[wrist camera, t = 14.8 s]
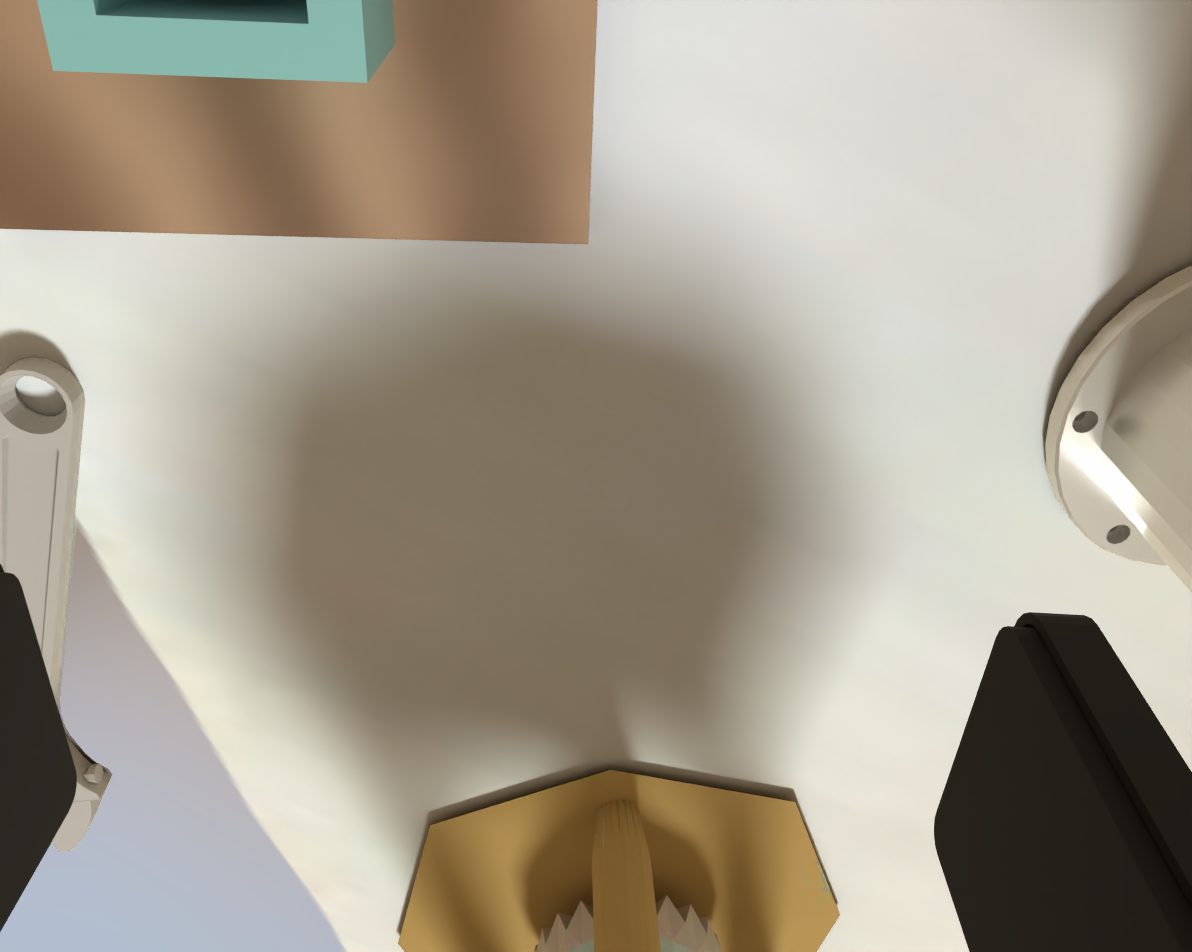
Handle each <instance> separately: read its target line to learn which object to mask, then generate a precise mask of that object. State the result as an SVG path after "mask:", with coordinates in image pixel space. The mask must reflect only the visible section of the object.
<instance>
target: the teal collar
mask: <svg viewBox="0 0 1192 952" xmlns="http://www.w3.org/2000/svg"><path fill="white" fill-rule="evenodd" d="M37 3H38V7H39V11H40V16H41V20H42V24H43V29H44V33H45V38H46V42H47V46H48V51H49V55H50V59H51V64H52V68H53V71H69V72H95V73H122V74H148V75H175V76H201V77H227V78H254V79H280V80H306V81H333V82H359V83H368V81H369V80H370V79H371V77H372V76H373V74H374V73H375V72H376V70H377V69H378V68H379V66H380V65H381V63H382V62H383V61H384V59H385V58H386V56H387V55H388V54H389V52H390V51H391V49H392V48H393V47H394V45H395V31H394V14H393V0H37Z"/></svg>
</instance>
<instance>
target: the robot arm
mask: <svg viewBox="0 0 1192 952" xmlns="http://www.w3.org/2000/svg"><path fill="white" fill-rule="evenodd" d="M1045 451H1046V466H1047V474H1048V477H1049V480H1050V483H1051V486H1052V489H1053V492H1054V495H1055V497H1056V498H1057V500H1058V501H1059V503H1060V504H1061V506H1062V507H1063V509H1064V510H1065V512H1066V513H1067V515H1068V516H1069V518H1070V519H1071V520H1072V521H1073V522H1074V523H1075V525H1076V526H1077V527H1078V528H1079V529H1080V530H1081V532H1082V533H1083V534H1084V535H1085V536H1086V537H1087V538H1089V539H1090V540H1091V541H1093V542H1094V543H1095V544H1097V545H1098V546H1099V547H1101V548H1103V549H1104V550H1106V551H1108V552H1111V553H1114V554H1116V555H1119V556H1121V557H1124V558H1126V559H1129V560H1132V561H1137V562H1143V563H1148V564H1154V565H1164V566H1169V567H1170V569H1171V570H1172V571H1173V572H1174V573H1175V574H1176V576H1177V577H1178V578H1179V579H1180V580H1181V582H1182V583H1183V584H1184V585H1185V586H1186V587H1187V589H1188V590H1189V591H1190V592H1191V593H1192V265H1191V266H1189V267H1187V268H1185V269H1183V270H1181V271H1179V272H1177V273H1175V274H1173V275H1171V276H1169V277H1167V278H1165V279H1163V280H1162V281H1161V282H1159V283H1158V284H1156V285H1155V286H1153V287H1152V288H1150V289H1149V290H1147V291H1146V292H1144V293H1143V294H1141V295H1140V296H1138V297H1137V298H1136V299H1134V300H1133V301H1131V302H1130V303H1129V304H1128V305H1127V306H1126V307H1125V308H1124V309H1122V310H1121V311H1120V312H1119V313H1118V314H1117V315H1116V316H1115V317H1114V318H1113V319H1111V320H1110V321H1109V322H1108V323H1107V324H1106V325H1105V326H1104V327H1103V328H1102V329H1101V330H1100V331H1099V333H1098V334H1097V335H1096V336H1095V337H1094V339H1093V340H1092V341H1091V342H1090V343H1089V345H1088V346H1087V347H1086V348H1085V349H1084V351H1083V352H1082V353H1081V354H1080V356H1079V357H1078V359H1077V360H1076V362H1075V364H1074V365H1073V367H1072V369H1071V370H1070V372H1069V374H1068V376H1067V377H1066V379H1065V381H1064V382H1063V384H1062V386H1061V388H1060V391H1059V393H1058V396H1057V398H1056V401H1055V404H1054V406H1053V409H1052V412H1051V414H1050V418H1049V424H1048V430H1047V437H1046V443H1045ZM76 787H77V774H76V768H75V765H74V761H73V758H72V755H71V751H70V748H69V745H68V741H67V738H66V734H65V731H64V728H63V724H62V721H61V717H60V714H59V711H58V707H57V704H56V701H55V697H54V694H53V690H52V687H51V684H50V680H49V677H48V674H47V670H46V667H45V663H44V660H43V657H42V653H41V650H40V646H39V643H38V640H37V636H36V633H35V630H34V626H33V623H32V619H31V616H30V613H29V609H28V606H27V603H26V599H25V596H24V592H23V589H22V586H21V584H20V581H19V579H18V578H17V577H16V576H15V575H14V574H11V573H6V572H4V570H3V567H2V565H1V564H0V931H1V930H2V928H3V926H4V924H5V923H6V921H7V919H8V917H9V916H10V914H11V912H12V910H13V909H14V907H15V905H16V903H17V902H18V900H19V898H20V896H21V895H22V893H23V891H24V889H25V888H26V886H27V884H28V882H29V880H30V879H31V877H32V875H33V874H34V872H35V870H36V868H37V867H38V865H39V863H40V861H41V860H42V858H43V856H44V854H45V853H46V851H47V849H48V847H49V846H50V844H51V842H52V840H53V839H54V837H55V835H56V833H57V832H58V830H59V828H60V826H61V825H62V823H63V821H64V819H65V818H66V816H67V814H68V812H69V810H70V808H71V806H72V804H73V800H74V797H75V793H76ZM934 838H935V846H936V850H937V854H938V857H939V860H940V863H941V866H942V869H943V873H944V876H945V879H946V882H947V885H948V888H949V891H950V894H951V897H952V900H953V903H954V906H955V909H956V912H957V915H958V918H959V921H960V924H961V927H962V930H963V933H964V936H965V939H966V942H967V945H968V948H969V951H970V952H1192V772H1191V771H1190V769H1189V767H1188V766H1187V764H1186V763H1185V761H1184V760H1183V758H1182V757H1181V755H1180V753H1179V752H1178V750H1177V749H1176V747H1175V746H1174V744H1173V742H1172V741H1171V739H1170V738H1169V736H1168V735H1167V733H1166V731H1165V730H1164V728H1163V727H1162V725H1161V724H1160V722H1159V721H1158V719H1157V717H1156V716H1155V714H1154V713H1153V711H1152V710H1151V708H1150V706H1149V705H1148V703H1147V702H1146V700H1145V699H1144V697H1143V696H1142V694H1141V692H1140V691H1139V689H1138V688H1137V686H1136V685H1135V683H1134V681H1133V680H1132V678H1131V677H1130V675H1129V674H1128V672H1127V671H1126V669H1125V667H1124V666H1123V664H1122V663H1121V661H1120V660H1119V658H1118V656H1117V655H1116V653H1115V652H1114V650H1113V649H1112V647H1111V645H1110V644H1109V642H1108V641H1107V639H1106V638H1105V636H1104V635H1103V633H1102V631H1101V630H1100V628H1099V627H1098V625H1097V624H1096V623H1095V622H1094V621H1093V620H1092V619H1091V618H1089V617H1087V616H1085V615H1068V614H1049V613H1031V612H1029V613H1025V614H1023V615H1022V616H1021V617H1020V618H1019V619H1018V620H1017V622H1016V624H1015V626H1014V627H1010V626H1007V627H1003V628H1002V629H1001V630H1000V631H999V633H998V635H997V637H996V639H995V642H994V645H993V648H992V651H991V654H990V657H989V660H988V663H987V666H986V669H985V671H984V674H983V677H982V680H981V683H980V686H979V689H978V692H977V695H976V698H975V701H974V704H973V707H972V710H971V712H970V715H969V718H968V721H967V724H966V727H965V730H964V733H963V736H962V739H961V742H960V745H959V748H958V750H957V753H956V756H955V759H954V762H953V765H952V768H951V771H950V774H949V777H948V780H947V783H946V786H945V789H944V791H943V794H942V797H941V800H940V803H939V806H938V809H937V812H936V816H935V823H934Z"/></svg>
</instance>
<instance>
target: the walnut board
mask: <svg viewBox="0 0 1192 952" xmlns="http://www.w3.org/2000/svg"><path fill="white" fill-rule="evenodd" d="M393 14H394V31H395V45H394V47H393V48H392V49H391V51H390V52H389V54H388V55H387V56H386V58H385V59H384V61H383V62H382V63H381V65H380V66H379V68H378V69H377V70H376V72H375V73H374V74H373V76H372V77H371V79H370V80H369V81H368V83H359V82H333V81H306V80H280V79H254V78H227V77H201V76H175V75H148V74H122V73H95V72H69V71H53V68H52V64H51V59H50V55H49V51H48V46H47V42H46V38H45V33H44V29H43V24H42V20H41V16H40V11H39V7H38V3H37V0H0V229H35V230H73V231H110V232H148V233H185V234H223V235H260V236H298V237H335V238H373V239H410V240H448V241H485V242H523V243H560V244H588V231H589V205H590V179H591V154H592V128H593V102H594V76H595V51H596V25H597V0H393Z"/></svg>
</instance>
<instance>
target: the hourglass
mask: <svg viewBox="0 0 1192 952" xmlns="http://www.w3.org/2000/svg"><path fill="white" fill-rule="evenodd" d="M839 916H840V914H839V911H838V909H837V906H836V904H835V901H834V899H833V896H832V894H831V891H830V888H829V886H828V883H827V881H826V878H825V876H824V873H823V871H822V868H821V866H820V863H819V861H818V858H817V856H816V853H815V851H814V848H813V845H812V843H811V840H810V838H809V835H808V833H807V830H806V828H805V825H804V823H803V820H802V818H801V815H800V813H799V810H798V808H797V805H796V803H795V802H792V801H787V800H781V799H775V798H770V797H764V796H758V795H752V794H747V793H741V792H735V791H729V790H724V789H718V788H712V787H707V786H701V785H695V784H689V783H684V782H678V781H672V780H667V779H661V778H655V777H649V776H644V775H638V774H632V773H627V772H621V771H615V770H608V771H605V772H601V773H598V774H595V775H592V776H588V777H585V778H582V779H579V780H575V781H572V782H569V783H566V784H562V785H559V786H556V787H553V788H549V789H546V790H543V791H540V792H536V793H533V794H530V795H527V796H523V797H520V798H517V799H514V800H510V801H507V802H504V803H501V804H497V805H494V806H491V807H488V808H484V809H481V810H478V811H475V812H471V813H468V814H465V815H462V816H458V817H455V818H452V819H449V820H445V821H442V822H439V823H436V824H432V825H430V827H429V831H428V835H427V838H426V842H425V846H424V849H423V853H422V857H421V861H420V864H419V868H418V872H417V875H416V879H415V883H414V886H413V890H412V894H411V898H410V901H409V905H408V909H407V912H406V916H405V920H404V924H403V927H402V931H401V935H400V938H399V942H398V944H399V945H400V946H401V948H402V949H403V950H404V951H405V952H817V950H818V949H819V947H820V945H821V944H822V942H823V941H824V939H825V938H826V936H827V934H828V933H829V931H830V930H831V928H832V927H833V925H834V923H835V922H836V920H837V919H838V917H839Z"/></svg>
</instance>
